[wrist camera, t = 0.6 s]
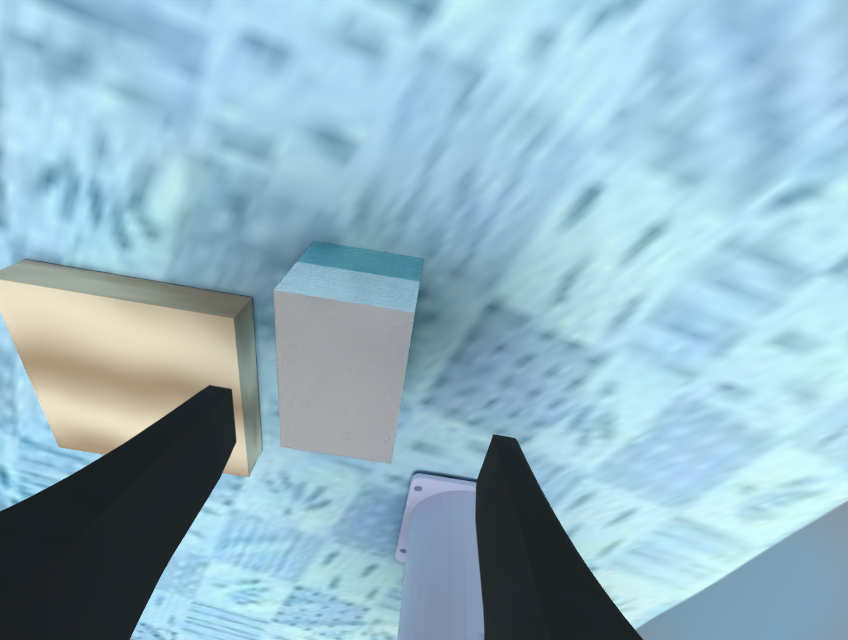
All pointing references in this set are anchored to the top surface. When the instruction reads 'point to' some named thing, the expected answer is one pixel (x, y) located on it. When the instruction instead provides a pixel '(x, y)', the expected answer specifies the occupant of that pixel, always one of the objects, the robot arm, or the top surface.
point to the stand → (129, 353)
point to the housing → (344, 349)
